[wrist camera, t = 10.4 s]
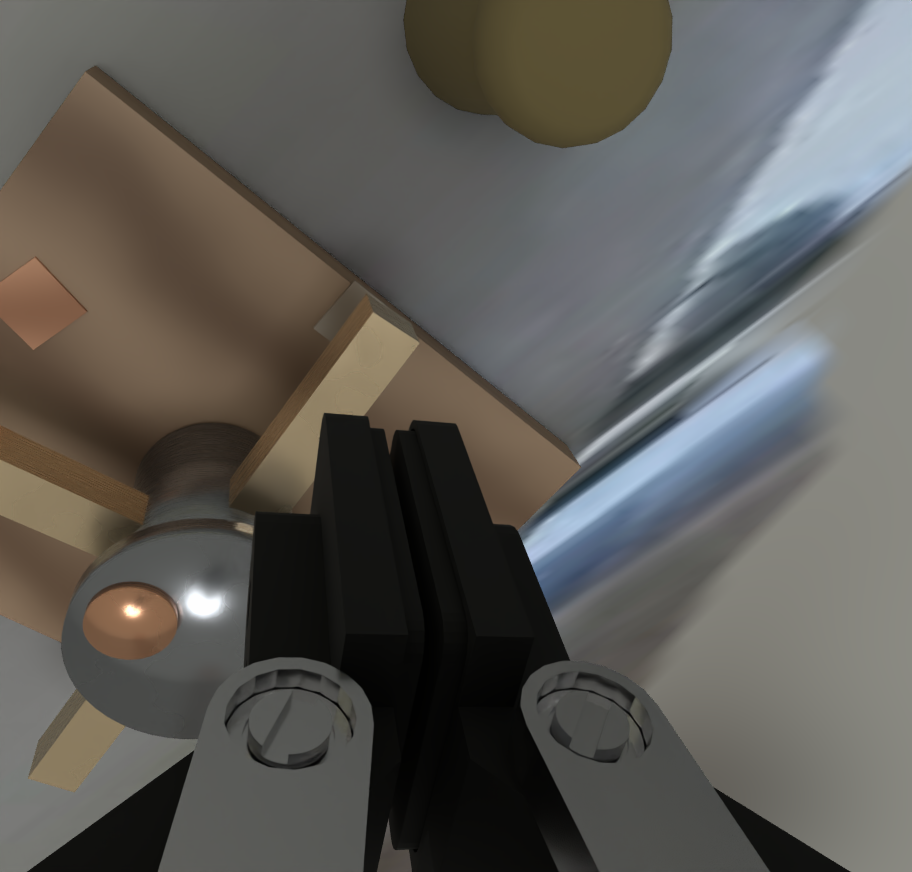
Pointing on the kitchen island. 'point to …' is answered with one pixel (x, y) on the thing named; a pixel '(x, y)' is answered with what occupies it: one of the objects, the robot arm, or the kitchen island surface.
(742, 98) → the kitchen island surface
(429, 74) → the cork
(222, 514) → the capstan
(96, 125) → the wooden cutting board
